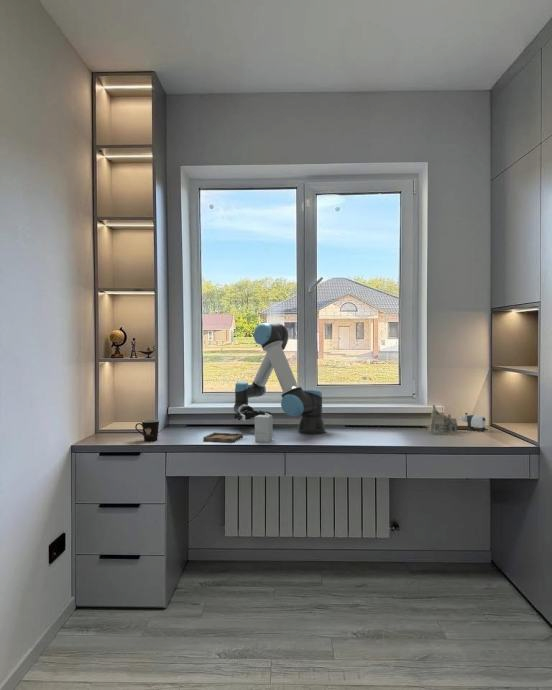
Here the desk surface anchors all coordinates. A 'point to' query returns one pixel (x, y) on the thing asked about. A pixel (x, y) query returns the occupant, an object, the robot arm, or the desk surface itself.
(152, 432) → the coffee mug
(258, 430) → the supplement box
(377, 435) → the desk surface
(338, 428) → the desk surface
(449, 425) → the ceramic cottage
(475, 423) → the giant panda
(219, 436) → the walnut tray
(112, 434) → the desk surface
